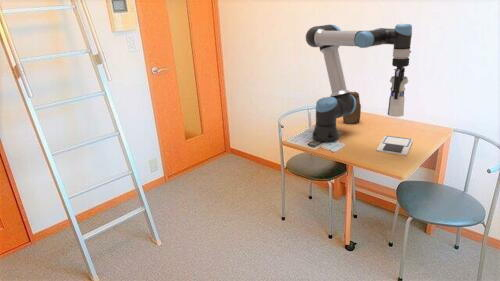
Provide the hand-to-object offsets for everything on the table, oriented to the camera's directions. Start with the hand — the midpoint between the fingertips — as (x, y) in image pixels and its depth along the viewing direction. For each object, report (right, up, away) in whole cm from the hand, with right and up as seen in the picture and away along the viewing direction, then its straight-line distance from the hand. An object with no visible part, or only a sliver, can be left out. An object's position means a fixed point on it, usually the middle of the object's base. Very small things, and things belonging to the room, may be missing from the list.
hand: (397, 103), depth 182 cm
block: (-8, -7, +53) cm, 54 cm away
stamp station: (+5, -22, +14) cm, 26 cm away
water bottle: (0, -6, +2) cm, 6 cm away
